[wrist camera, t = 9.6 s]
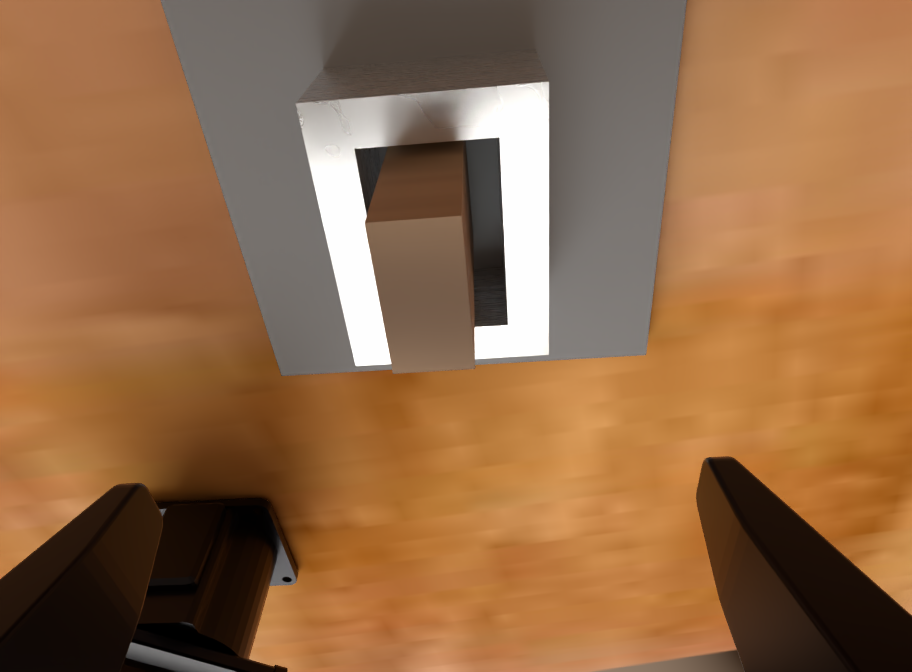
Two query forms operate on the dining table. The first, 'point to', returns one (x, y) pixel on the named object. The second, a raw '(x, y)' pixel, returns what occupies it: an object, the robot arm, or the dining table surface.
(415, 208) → the wooden block
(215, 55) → the slate board
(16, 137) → the dining table surface
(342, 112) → the white hollow frame
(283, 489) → the dining table surface
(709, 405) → the dining table surface
